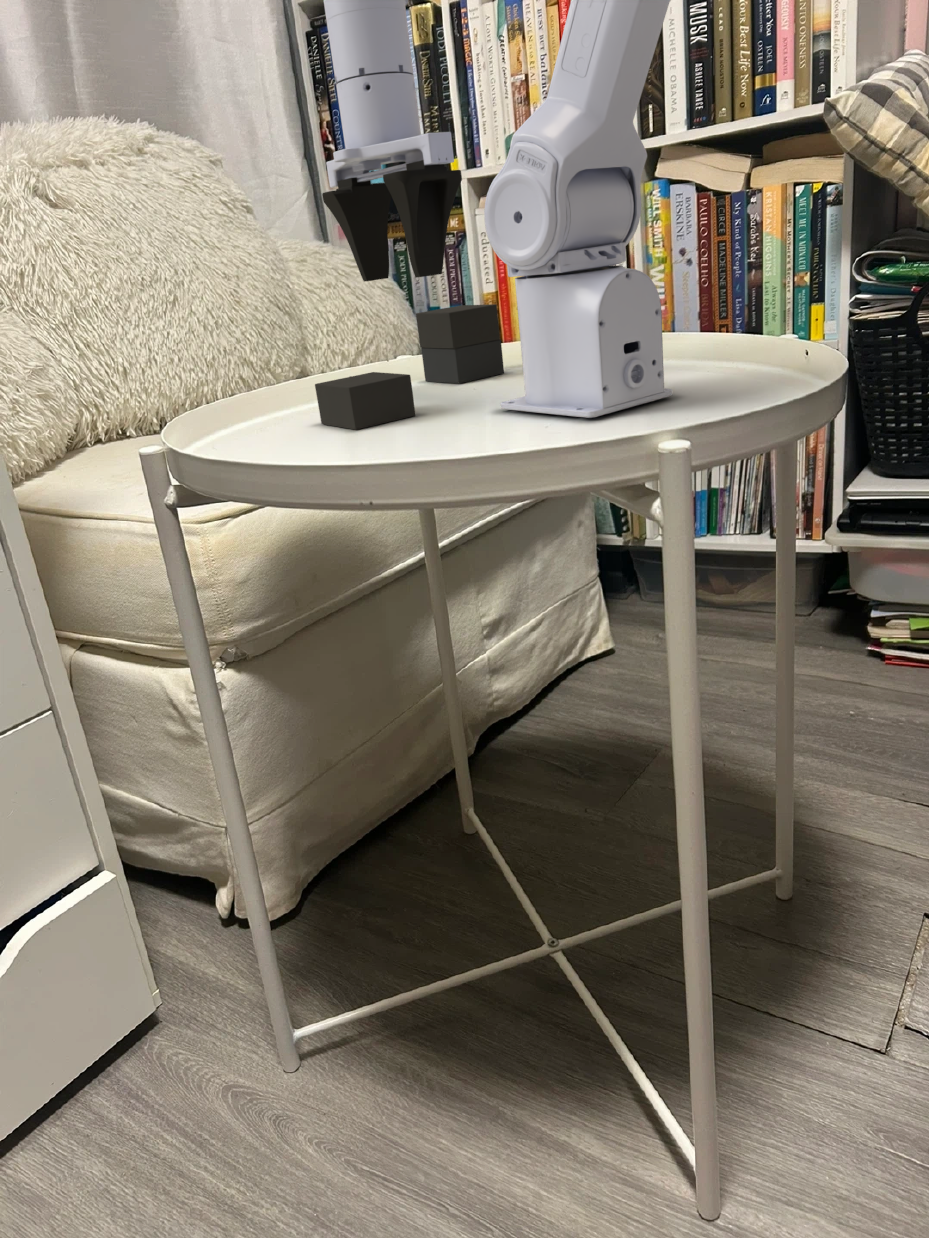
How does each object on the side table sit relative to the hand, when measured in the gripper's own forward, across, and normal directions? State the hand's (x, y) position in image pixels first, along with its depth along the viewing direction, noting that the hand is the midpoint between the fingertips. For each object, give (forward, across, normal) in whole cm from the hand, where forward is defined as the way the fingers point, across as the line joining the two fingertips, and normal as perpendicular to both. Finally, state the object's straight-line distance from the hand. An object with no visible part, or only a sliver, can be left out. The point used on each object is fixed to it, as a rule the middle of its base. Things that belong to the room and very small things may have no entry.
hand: (401, 278), depth 74 cm
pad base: (+9, -5, +9) cm, 14 cm away
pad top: (+9, +4, -7) cm, 12 cm away
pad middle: (+6, -5, +8) cm, 12 cm away
